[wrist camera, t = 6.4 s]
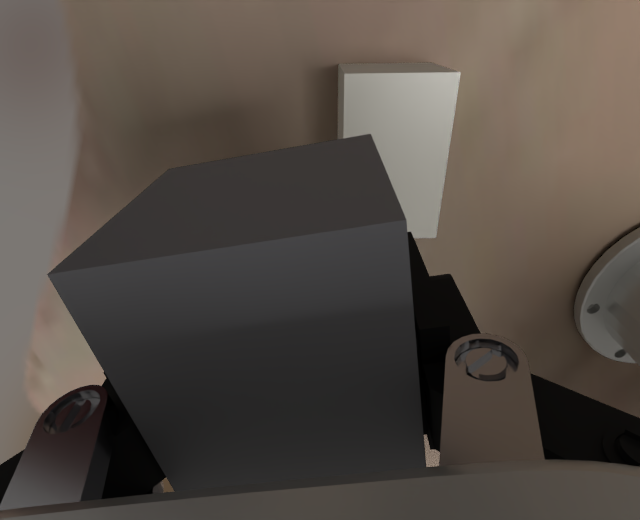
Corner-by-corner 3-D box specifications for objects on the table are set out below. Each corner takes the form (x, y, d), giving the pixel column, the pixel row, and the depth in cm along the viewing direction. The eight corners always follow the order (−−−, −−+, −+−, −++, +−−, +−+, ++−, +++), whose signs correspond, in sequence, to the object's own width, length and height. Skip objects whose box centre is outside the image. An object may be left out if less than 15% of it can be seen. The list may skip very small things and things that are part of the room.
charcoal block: (168, 168, 10) (47, 274, 6) (370, 133, 10) (406, 220, 5) (251, 395, 14) (216, 562, 10) (398, 378, 13) (432, 547, 9)
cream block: (338, 63, 22) (344, 73, 17) (431, 62, 22) (460, 72, 18) (336, 203, 26) (341, 239, 22) (415, 202, 26) (435, 238, 22)
